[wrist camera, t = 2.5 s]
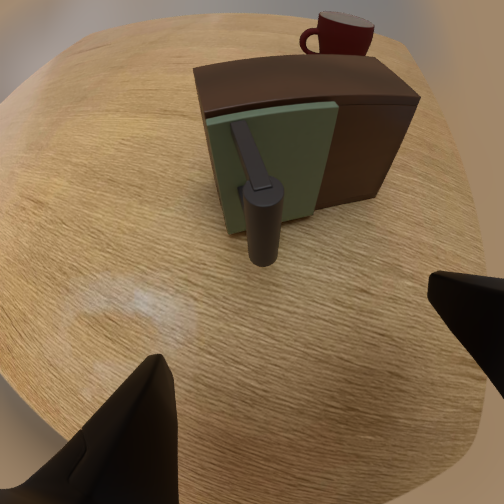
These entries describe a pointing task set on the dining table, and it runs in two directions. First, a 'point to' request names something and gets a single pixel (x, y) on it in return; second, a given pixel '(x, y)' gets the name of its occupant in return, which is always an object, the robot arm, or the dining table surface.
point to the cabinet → (322, 90)
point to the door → (270, 169)
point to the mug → (340, 34)
